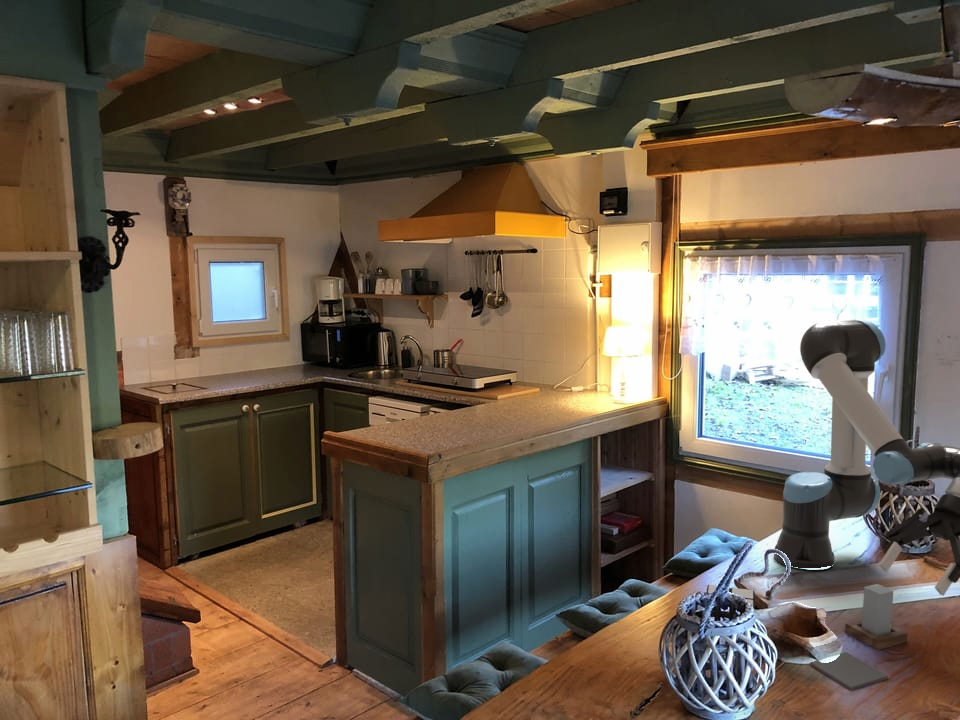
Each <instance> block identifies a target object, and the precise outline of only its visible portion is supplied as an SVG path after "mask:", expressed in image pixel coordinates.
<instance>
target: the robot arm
mask: <svg viewBox="0 0 960 720" xmlns="http://www.w3.org/2000/svg"><path fill="white" fill-rule="evenodd" d="M886 346H887V345H886V339H885V335H884V333H883V332H882V330H881V329H880V328H879V327H878V325H876V324H875V323H874V322H872V321H869V320H863V319H862V320H861V319H848V320H835V321H833V320H832V321H830V320H829V321H820V322H816V323H815V324H813V325H812V326H810V327H809V328H808V329H806V331H805V332H804V334H803V335H802V338H801V341H800V345H799V351H800V357H801V360H802V362H803V365H804V367H805V368H806V370H807V371H808V373H809V374H810V376H811V377H812V378H814V379H817V380H819V381H820V382H821V384H822V386H824V388H825V389H826V391H827V392H828V393H829V395H830V397H831V398H832V400H831V401H832V403H831V434H830V435H831V437H830V440H831V441H830V461H829V463H827V464H826V465H825V466H824V468H823V469H824V470H823V471H824V472H823V473H822V472H815V471H811V472H808V471H802V472H797V473H793V474H791V475H790V476H788V477H787V478H786V480H785V482H784V489H783V492H782V494H783V501H782V503H783V504H782V525H781V526H782V528H781V532H780V534H779V536H778V539H777V542H776V544H775V546H774V549H778V550H780V551H782V552H783V553H785V554H786V555H787V557H788V558H789V560H790V562H791V566H793V567H798V568H821V567H827V566H832V565H833V564H834V565H835V558H836V557H835V553H834V552H833V548H832V544H831V543H832V542H831V540H830V535H829V534H830V522H831V521H838V520H845V519H853V518H861V517H862V516H867V515H869V514H871V513H872V512H873V511H875V510H876V509H877V507H878V506H879V503H880V500H881V488H880V485H879V484H878V483H877V482H878V481H877V479H878V480H879V481H880V482H882V483H884V484H886V485H905V484H908V483H915V482H919V481H927V480H934V479H935V480H937V479H949V480H951V481H950V483H949V485H948V486H947V487H946V489H945V490H944V494H942V495H941V496H940V498H939V500H938V501H937V502H936V504H935V506H934V510H933V512H931V513H928V512H925V511H924V510H923V509H922V508H918V509H917V510H916V511H915V512H914V513H913V514H912V515H911V516H909V517H908V518H906V519H905V520H904V521H902V522H900V523H899V524H897V525H896V526H894V527H893V528H891V529H889V530H887V532H885V536H886V538H887V539H888V540H889V541H890V542H889V543H888V545H887V546H886V548H885V549H884V552H883V553H884V554H885V555H883V557H882V558H881V560H880V562H879V563H878V566H879V567H880V568H881V569H882V570H883V571H884V572H886V573H888V571H889V570H890V568H891V567H892V566H893V564H894V562H895V560H896V559H897V558H898V557H899V555H900V554H901V552H902V550H903V548H902V546H905V545H907V544H910V543H912V542H915V541H917V540H920V539H923V538H925V537H931V536H933V537H934V538H937V539H938V538H940V539H942V540H944V541H949V543H950V547H951V551H952V556H953V559H954V563H952V562H950V563H949V565H948V567H947V568H946V569H945V571H944V572H943V574H942V576H941V577H940V579H939V580H938V582H937V583H936V585H935V586H934V589H935V590H936V592H938V593H939V595H940V596H943V597H944V596H945V594H946V593H947V591H948V590H949V589H950V587H951V586H952V584H953V583H954V584H956V583H957V582H958V581H959V579H960V448H959V447H955V446H950V445H944V444H941V443H938V442H935V443H934V442H933V443H932V442H924V443H921V444H919V446H916V447H915V448H911V447H910V446H909V444H908V443H907V442H906V440H905V439H904V438H903V436H902V435H901V433H899V431H898V430H897V428H896V427H895V426H894V424H893V423H892V422H891V420H890V419H889V418H888V416H887V415H886V414H885V412H884V411H883V410H882V409H881V407H880V406H879V405H878V404H877V402H876V401H875V400H874V398H873V397H872V395H871V394H870V393H869V391H868V390H869V389H868V387H869V378H870V377H869V376H871V375H872V374H873V373H874V372H875V371H876V370H875V368H876V367H875V366H876V362H878V361H879V360H881V359H882V357H883V356H884V354H885V351H886ZM866 447H868V449H869V450H870V452H871V454H872V455H873V457H874V460H873V462H872V468H873V469H874V474H875V476H876V477H877V479H876V478H875V477H874V475H872V470H871V469H870V467H868V465H867V464H866V456H867V455H866V449H867V448H866ZM773 558H774V559H775V561H777V562H778V563H779V564H781V565H783V566H785V563H784V561H783V559H782V558H781V557H780V556H779V555H777V554H774V553H773Z"/></svg>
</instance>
